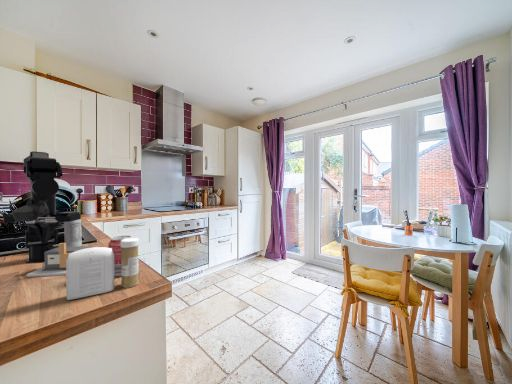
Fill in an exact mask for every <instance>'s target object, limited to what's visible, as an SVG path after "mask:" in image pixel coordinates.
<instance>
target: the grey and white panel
mask: <svg viewBox="0 0 512 384" xmlns="http://www.w3.org/2000/svg"><path fill="white" fill-rule="evenodd" d="M86 248H92V245H82V246H76V247H66V253H72V252H75V251H78V250H81V249H86ZM44 257H45V261H44V266H42V267H40V268H39V269H36V270H34V271H32V272H29V273H27V274H26V277H27V278H31V277H34V278H35V277H50V276H52V277H53V276H66V268H60V254H59V246H58V247H54V249H52V250H49V251H46V252H44Z"/></svg>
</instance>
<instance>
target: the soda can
mask: <svg viewBox="0 0 512 384" xmlns="http://www.w3.org/2000/svg"><path fill="white" fill-rule="evenodd" d="M127 238H132V236H130V235H117V236H113V237H111V238H110V241H109V243H108V246H107V248H112V251H113V253H114V278H116V277H117V278H119V277H120V278H121V277H122V275H121V259H122V255H121V252H122V251H121V240H123V239H127Z"/></svg>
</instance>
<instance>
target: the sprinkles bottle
mask: <svg viewBox="0 0 512 384" xmlns="http://www.w3.org/2000/svg"><path fill="white" fill-rule="evenodd" d="M139 242H140V241H139V238H138V237H131V238H127V239H123V240H121V251H122V252H121V255H122V259H121V275H122V276H121V284H120V286H121V288H125V289H127V288H132V287H135V286H137V285H139V283H140V281H139V244H140V243H139Z"/></svg>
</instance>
